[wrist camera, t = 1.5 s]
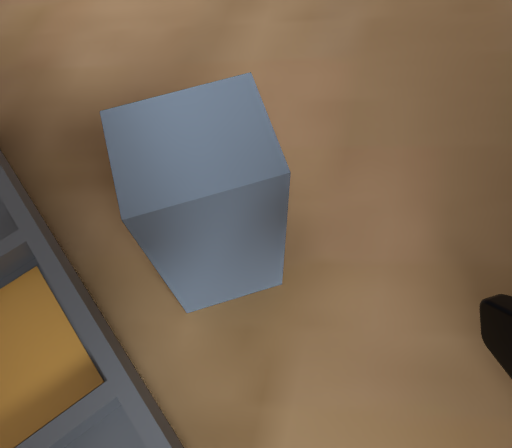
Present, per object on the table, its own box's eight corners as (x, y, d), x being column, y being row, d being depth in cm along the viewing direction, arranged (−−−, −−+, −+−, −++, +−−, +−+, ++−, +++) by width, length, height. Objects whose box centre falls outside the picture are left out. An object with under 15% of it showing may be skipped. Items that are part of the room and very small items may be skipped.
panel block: (282, 284, 23) (290, 172, 13) (187, 313, 23) (121, 220, 13) (258, 216, 25) (250, 72, 15) (169, 242, 24) (99, 111, 14)
